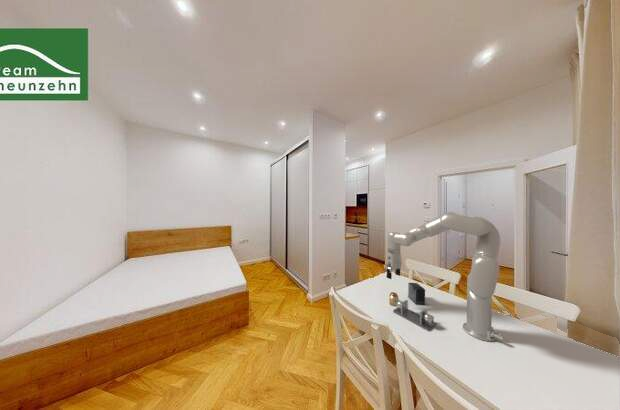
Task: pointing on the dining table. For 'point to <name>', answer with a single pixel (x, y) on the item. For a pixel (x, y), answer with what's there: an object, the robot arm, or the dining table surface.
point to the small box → (416, 293)
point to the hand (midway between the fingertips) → (393, 276)
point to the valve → (393, 299)
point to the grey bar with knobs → (415, 315)
